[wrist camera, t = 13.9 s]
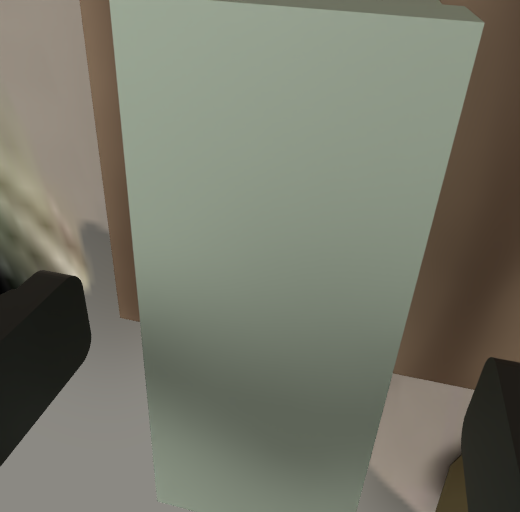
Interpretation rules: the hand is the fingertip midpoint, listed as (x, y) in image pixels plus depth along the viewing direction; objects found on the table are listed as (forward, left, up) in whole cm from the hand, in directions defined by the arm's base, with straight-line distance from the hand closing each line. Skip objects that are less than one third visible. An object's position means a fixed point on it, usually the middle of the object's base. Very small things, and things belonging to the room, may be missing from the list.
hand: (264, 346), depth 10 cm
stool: (0, 0, -10) cm, 10 cm away
